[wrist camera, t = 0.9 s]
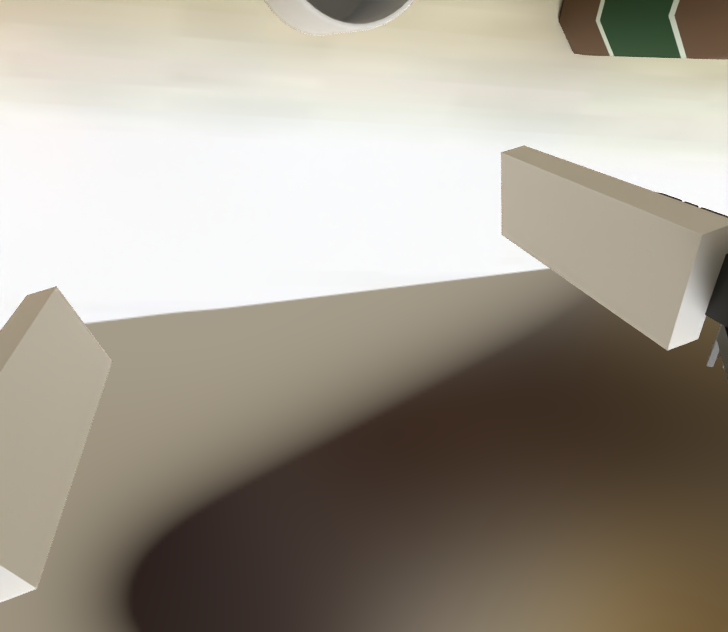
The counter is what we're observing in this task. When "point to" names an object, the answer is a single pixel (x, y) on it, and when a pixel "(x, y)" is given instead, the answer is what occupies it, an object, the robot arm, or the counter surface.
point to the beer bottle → (647, 28)
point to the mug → (336, 14)
